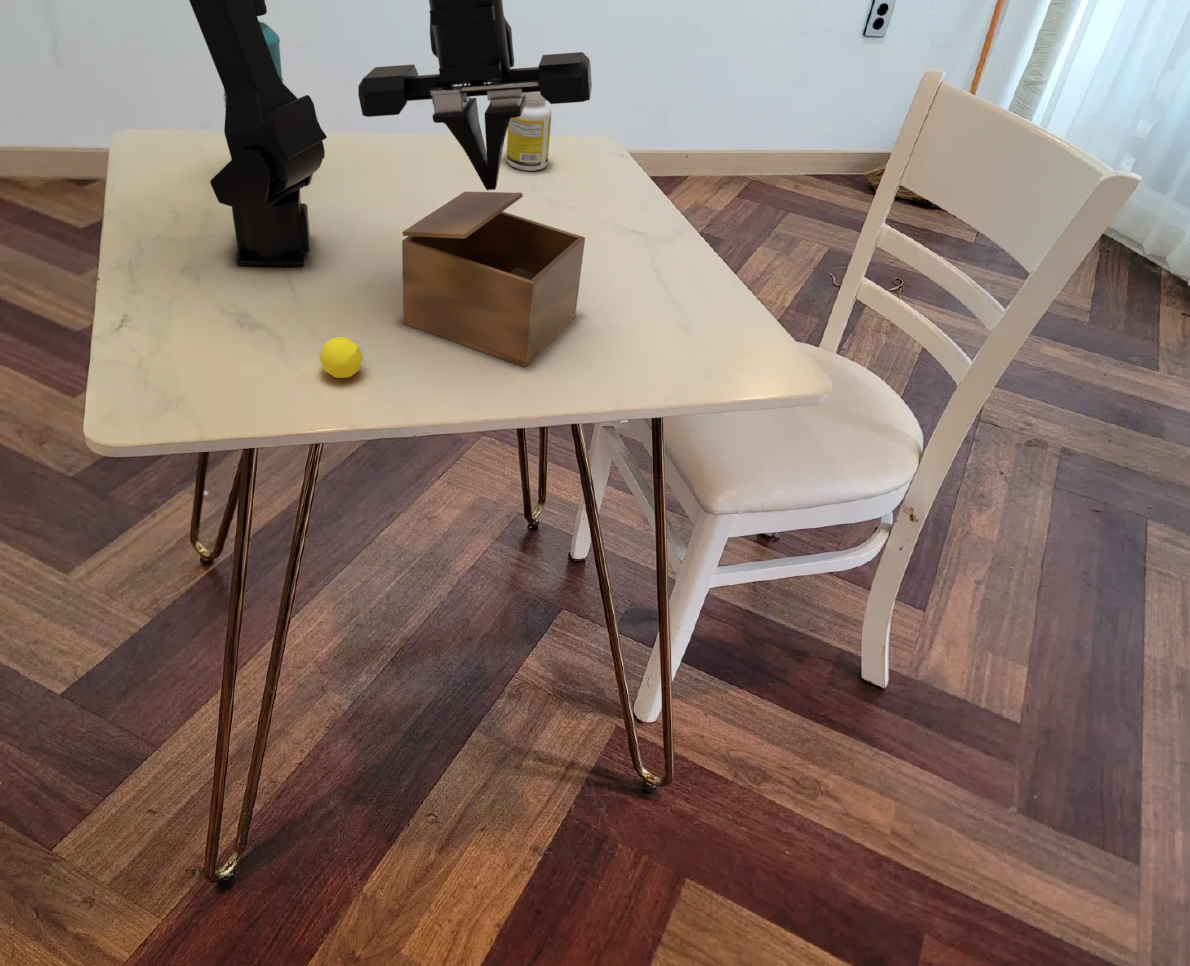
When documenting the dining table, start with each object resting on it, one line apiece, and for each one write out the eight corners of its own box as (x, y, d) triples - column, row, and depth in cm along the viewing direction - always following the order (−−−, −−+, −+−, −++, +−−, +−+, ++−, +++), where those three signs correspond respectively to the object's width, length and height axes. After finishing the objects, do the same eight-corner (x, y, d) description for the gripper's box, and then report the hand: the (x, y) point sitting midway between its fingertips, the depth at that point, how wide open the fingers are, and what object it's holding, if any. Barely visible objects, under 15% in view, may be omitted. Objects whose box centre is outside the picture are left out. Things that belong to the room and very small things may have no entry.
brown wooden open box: (403, 323, 85) (401, 240, 80) (461, 277, 93) (464, 199, 88) (525, 367, 82) (533, 283, 77) (575, 316, 90) (585, 237, 85)
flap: (403, 236, 79) (402, 231, 79) (465, 195, 87) (464, 191, 87) (464, 238, 77) (464, 234, 77) (522, 196, 85) (522, 192, 85)
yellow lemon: (330, 389, 76) (313, 351, 74) (329, 367, 81) (314, 331, 79) (369, 376, 76) (353, 337, 74) (366, 355, 81) (351, 319, 80)
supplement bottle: (524, 152, 121) (530, 75, 114) (555, 165, 119) (563, 88, 112) (497, 161, 117) (501, 83, 111) (528, 175, 115) (534, 96, 109)
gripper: (586, -33, 76) (599, 155, 85) (370, -16, 78) (406, 168, 87) (581, -16, 67) (596, 193, 76) (336, 3, 68) (380, 206, 78)
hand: (491, 188), depth 79 cm, fingers closed
